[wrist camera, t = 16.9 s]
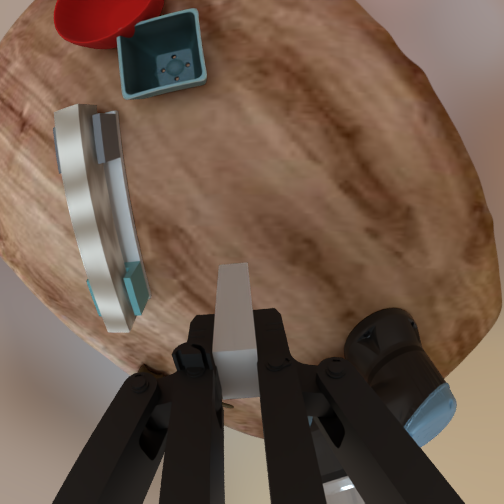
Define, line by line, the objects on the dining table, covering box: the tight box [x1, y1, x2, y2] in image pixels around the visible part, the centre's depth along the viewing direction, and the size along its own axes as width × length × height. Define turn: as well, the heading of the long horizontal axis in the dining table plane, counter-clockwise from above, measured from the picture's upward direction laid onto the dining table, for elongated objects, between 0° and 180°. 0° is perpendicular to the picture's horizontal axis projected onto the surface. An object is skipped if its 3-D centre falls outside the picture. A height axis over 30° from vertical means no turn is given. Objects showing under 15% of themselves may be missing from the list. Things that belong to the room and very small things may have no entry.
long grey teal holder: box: [53, 110, 152, 316], centre depth 35 cm, size 28×7×6 cm, turn 4°
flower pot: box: [117, 8, 207, 100], centre depth 27 cm, size 9×9×9 cm
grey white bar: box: [54, 104, 137, 332], centre depth 33 cm, size 30×4×5 cm, turn 4°
